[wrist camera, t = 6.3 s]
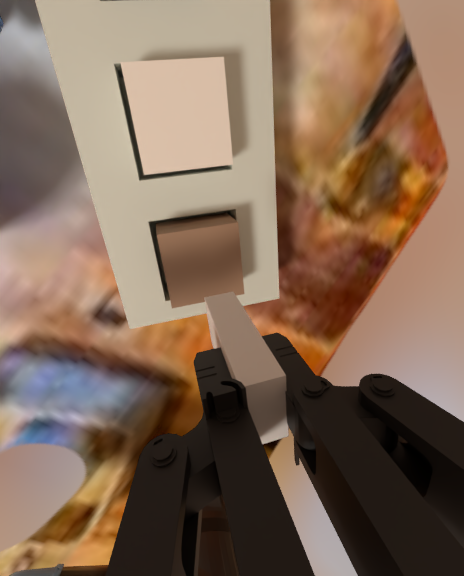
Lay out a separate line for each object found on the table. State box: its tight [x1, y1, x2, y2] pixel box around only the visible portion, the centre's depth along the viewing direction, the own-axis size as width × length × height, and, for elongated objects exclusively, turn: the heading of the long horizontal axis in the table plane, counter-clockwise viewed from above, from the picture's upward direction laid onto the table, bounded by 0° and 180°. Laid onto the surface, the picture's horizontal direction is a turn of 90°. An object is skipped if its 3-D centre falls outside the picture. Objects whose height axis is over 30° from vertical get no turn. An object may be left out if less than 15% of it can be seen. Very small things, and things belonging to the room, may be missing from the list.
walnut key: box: [156, 213, 244, 308], centre depth 25 cm, size 6×6×4 cm
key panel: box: [35, 0, 279, 329], centre depth 23 cm, size 31×14×5 cm, turn 6°
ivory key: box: [120, 57, 233, 175], centre depth 20 cm, size 6×6×4 cm
